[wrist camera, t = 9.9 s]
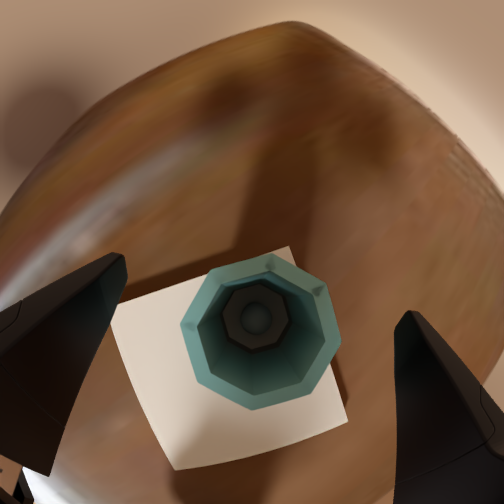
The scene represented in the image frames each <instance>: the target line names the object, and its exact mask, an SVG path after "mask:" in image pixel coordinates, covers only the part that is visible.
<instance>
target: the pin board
mask: <svg viewBox="0 0 504 504" xmlns="http://www.w3.org/2000/svg"><path fill="white" fill-rule="evenodd" d="M269 253H273V254H275V255H277V256H278V257H280V258H282V259H284V260H286V261H287V262H289V263H291V264H293V265H295V266H296V264H295V261H294V259H293V256H292V253H291V250H290V248H289V246H287V247H284V248H281V249H278V250H275V251H272V252H269ZM269 253H267V254H269ZM264 255H266V254H264ZM261 256H262V255H261ZM207 275H208V274H206V275H203V276H200V277H197V278H194V279H191V280H188V281H185V282H183V283H180V284H177V285H174V286H171V287H168V288H165V289H162V290H159V291H156V292H153V293H150V294H147V295H144V296H141V297H138V298H135V299H133V300H130V301H127V302H124V303H121V304H118V305H117V308H116V310H115V313H114V316H113V318H112V320H111V327H112V330H113V333H114V336H115V339H116V342H117V345H118V348H119V351H120V354H121V356H122V359H123V362H124V365H125V367H126V370H127V373H128V375H129V378H130V380H131V383H132V385H133V388H134V390H135V392H136V395H137V397H138V399H139V402H140V404H141V406H142V408H143V410H144V413H145V415H146V417H147V419H148V421H149V423H150V425H151V427H152V429H153V431H154V433H155V435H156V437H157V439H158V441H159V443H160V445H161V447H162V448H163V450H164V452H165V454H166V456H167V458H168V459H169V461H170V463H171V465H172V466H173V468H174V470H183V469H190V468H196V467H203V466H208V465H214V464H219V463H224V462H228V461H233V460H237V459H242V458H246V457H250V456H253V455H257V454H261V453H264V452H268V451H271V450H274V449H278V448H281V447H284V446H287V445H290V444H293V443H296V442H299V441H302V440H304V439H307V438H310V437H312V436H315V435H318V434H320V433H323V432H325V431H328V430H330V429H332V428H335V427H337V426H339V425H342V424H344V423H346V422H348V420H347V416H346V413H345V410H344V406H343V403H342V400H341V396H340V393H339V390H338V387H337V384H336V381H335V377H334V374H333V371H332V368H331V365H330V363H329V365H328V367H327V369H326V370H325V372H324V374H323V375H322V377H321V379H320V380H319V382H318V384H317V385H316V387H315V388H314V390H313V392H312V393H311V394H309V395H306V396H303V397H300V398H297V399H293V400H290V401H287V402H283V403H280V404H276V405H272V406H269V407H265V408H261V409H257V410H253V411H251V410H249V409H247V408H245V407H243V406H241V405H239V404H237V403H235V402H233V401H231V400H229V399H227V398H225V397H223V396H221V395H219V394H218V393H216V392H214V391H212V390H210V389H208V388H207V387H205V386H203V385H201V384H199V383H198V382H197V380H196V377H195V374H194V370H193V367H192V364H191V361H190V358H189V355H188V351H187V348H186V345H185V341H184V338H183V334H182V331H181V327H180V322H181V320H182V319H183V317H184V315H185V313H186V312H187V310H188V308H189V306H190V304H191V303H192V301H193V299H194V297H195V296H196V294H197V292H198V290H199V289H200V287H201V285H202V283H203V282H204V280H205V278H206V276H207ZM222 313H223V317H224V321H225V324H226V328H227V331H228V334H229V337H230V338H232V339H234V340H236V341H237V342H239V343H241V344H243V345H245V346H246V347H248V348H250V349H254V348H258V347H261V346H265V345H268V344H272V343H275V342H276V341H277V340H278V338H279V336H280V335H281V333H282V331H283V329H284V328H285V326H286V324H287V322H288V317H287V313H286V310H285V306H284V303H283V299H282V296H280V295H278V294H277V293H275V292H273V291H271V290H269V289H268V288H266V287H264V286H262V285H261V284H258V285H254V286H250V287H247V288H243V289H239V290H236V291H234V293H233V295H232V297H231V298H230V300H229V302H228V304H227V305H226V307H225V309H224V311H223V312H222Z"/></svg>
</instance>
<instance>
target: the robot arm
mask: <svg viewBox="0 0 504 504" xmlns="http://www.w3.org/2000/svg"><path fill="white" fill-rule="evenodd" d="M127 279H128V274H127V268H126V262H125V257H124V255H122V254H119V253H114V252H111V253H109V254H107V255H105V256H103V257H101V258H99V259H97V260H95V261H93V262H91V263H89V264H87V265H85V266H83V267H81V268H79V269H77V270H75V271H73V272H72V273H70V274H68V275H66V276H64V277H62V278H60V279H58V280H56V281H55V282H53V283H51V284H49V285H47V286H45V287H44V288H42V289H40V290H38V291H36V292H35V293H33V294H31V295H29V296H27V297H26V298H24V299H23V300H20V301H19V302H17V303H15V304H14V305H12V306H10V307H8V308H7V309H5V310H3V311H1V312H0V504H33V502H34V498H33V496H32V493H31V491H30V488H29V486H28V483H27V481H26V478H25V475H24V473H23V470H22V468H23V466H24V467H26V468H28V469H31V470H33V471H35V472H38V473H40V474H42V475H45V476H47V477H49V476H50V473H51V470H52V466H53V463H54V460H55V456H56V453H57V450H58V447H59V444H60V441H61V438H62V435H63V432H64V430H65V426H66V424H67V421H68V418H69V416H70V413H71V410H72V408H73V405H74V403H75V400H76V398H77V395H78V393H79V390H80V388H81V386H82V383H83V381H84V378H85V376H86V374H87V372H88V369H89V367H90V365H91V363H92V360H93V358H94V356H95V354H96V352H97V350H98V348H99V345H100V343H101V341H102V339H103V337H104V335H105V333H106V331H107V329H108V327H109V325H110V323H111V320H112V318H113V316H114V313H115V310H116V308H117V305H118V303H119V300H120V297H121V295H122V292H123V290H124V288H125V285H126V283H127ZM394 378H395V393H396V416H397V455H396V477H395V488H394V499H393V504H504V413H503V411H501V409H500V408H499V407H498V406H497V404H496V403H495V402H494V400H493V399H492V398H491V397H490V395H489V394H488V393H487V392H486V390H485V389H484V388H483V386H482V385H480V382H479V381H478V380H477V379H476V377H475V376H474V375H473V374H472V372H471V371H470V370H469V369H468V367H467V366H466V365H465V364H464V363H463V361H462V360H461V359H460V358H459V357H458V355H457V354H456V353H455V352H454V351H453V350H452V348H451V347H450V346H449V345H448V344H447V343H446V341H445V340H444V339H443V338H442V337H441V336H440V335H439V333H438V332H437V331H436V330H435V329H434V328H433V327H432V326H431V325H430V323H429V322H428V321H427V320H426V319H425V318H424V317H423V316H422V315H421V314H420V313H419V312H417V311H411V310H408V311H407V312H405V314H404V315H403V317H402V318H401V320H400V321H399V323H398V324H397V325H396V327H395V330H394Z"/></svg>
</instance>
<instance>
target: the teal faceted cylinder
mask: <svg viewBox="0 0 504 504" xmlns="http://www.w3.org/2000/svg"><path fill="white" fill-rule="evenodd" d="M258 284H261V285H262V286H264V287H266V288H268V289H269V290H271V291H273V292H275V293H277V294H278V295H280V296H282V299H283V303H284V306H285V310H286V313H287V317H288V322H287V324H286V326H285V328H284V329H283V331H282V333H281V335H280V336H279V338H278V340H277V341H276V342H275V343H272V344H268V345H265V346H261V347H258V348H254V349H250V348H248V347H246V346H245V345H243V344H241V343H239V342H237V341H236V340H234V339H232V338H230V337H229V334H228V331H227V328H226V324H225V321H224V317H223V313H222V312H223V311H224V309H225V307H226V305H227V304H228V302H229V300H230V298H231V297H232V295H233V293H234V291H236V290H239V289H243V288H247V287H250V286H254V285H258ZM180 327H181V331H182V334H183V338H184V341H185V345H186V348H187V351H188V355H189V358H190V361H191V364H192V367H193V370H194V374H195V377H196V380H197V382H198V383H199V384H201V385H203V386H205V387H207V388H208V389H210V390H212V391H214V392H216V393H218V394H219V395H221V396H223V397H225V398H227V399H229V400H231V401H233V402H235V403H237V404H239V405H241V406H243V407H245V408H247V409H249V410H251V411H253V410H257V409H261V408H265V407H269V406H272V405H276V404H280V403H283V402H287V401H290V400H293V399H297V398H300V397H303V396H306V395H309V394H311V393H312V392H313V390H314V388H315V387H316V385H317V384H318V382H319V380H320V379H321V377H322V375H323V374H324V372H325V370H326V369H327V367H328V365H329V363H330V362H331V360H332V358H333V356H334V355H335V353H336V351H337V349H338V348H339V346H340V344H341V342H342V341H341V337H340V333H339V329H338V325H337V321H336V317H335V314H334V310H333V306H332V302H331V299H330V295H329V292H328V288H327V285H326V283H325V282H323V281H321V280H319V279H318V278H316V277H314V276H312V275H311V274H309V273H307V272H305V271H303V270H302V269H300V268H298V267H296V266H295V265H293V264H291V263H289V262H287V261H286V260H284V259H282V258H280V257H278V256H277V255H275V254H273V253H269V254H266V255H262V256H258V257H255V258H251V259H247V260H244V261H240V262H237V263H233V264H229V265H226V266H222V267H218V268H215V269H211V270H210V271H209V273H208V275H207V276H206V278H205V280H204V282H203V283H202V285H201V287H200V289H199V290H198V292H197V294H196V296H195V297H194V299H193V301H192V303H191V304H190V306H189V308H188V310H187V312H186V313H185V315H184V317H183V319H182V320H181V322H180Z"/></svg>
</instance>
